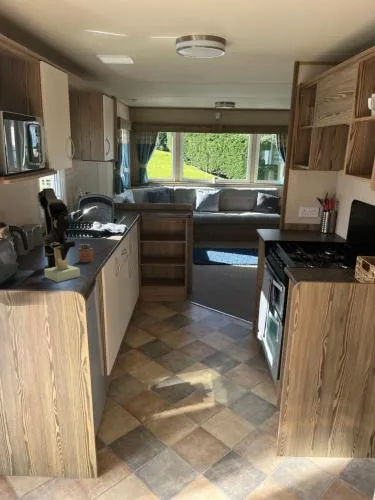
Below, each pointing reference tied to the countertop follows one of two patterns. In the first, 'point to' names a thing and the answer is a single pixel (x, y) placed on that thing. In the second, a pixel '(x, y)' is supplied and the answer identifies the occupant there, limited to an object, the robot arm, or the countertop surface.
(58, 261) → the peg
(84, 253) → the lighter
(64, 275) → the well holder
